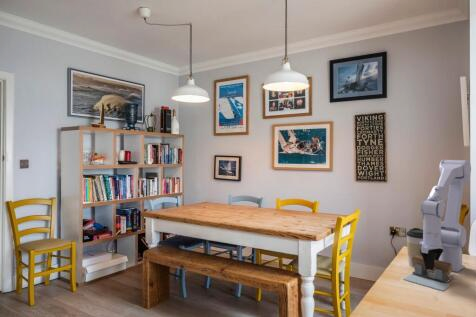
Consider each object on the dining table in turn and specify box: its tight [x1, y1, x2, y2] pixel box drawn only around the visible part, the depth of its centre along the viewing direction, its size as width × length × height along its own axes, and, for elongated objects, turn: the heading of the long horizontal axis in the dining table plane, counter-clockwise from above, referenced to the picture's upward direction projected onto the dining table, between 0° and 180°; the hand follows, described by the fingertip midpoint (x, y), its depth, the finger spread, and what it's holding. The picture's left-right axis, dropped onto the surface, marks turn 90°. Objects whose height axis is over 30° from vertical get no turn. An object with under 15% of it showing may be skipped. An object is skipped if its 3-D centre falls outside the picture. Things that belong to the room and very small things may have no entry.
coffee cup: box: [406, 227, 423, 269], centre depth 136 cm, size 9×9×15 cm
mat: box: [403, 273, 451, 292], centre depth 118 cm, size 7×13×1 cm, turn 41°
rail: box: [412, 255, 453, 276], centre depth 124 cm, size 3×13×3 cm, turn 41°
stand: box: [411, 263, 451, 284], centre depth 124 cm, size 6×11×4 cm, turn 41°
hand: (431, 268), depth 124 cm, fingers open, 4 cm apart
